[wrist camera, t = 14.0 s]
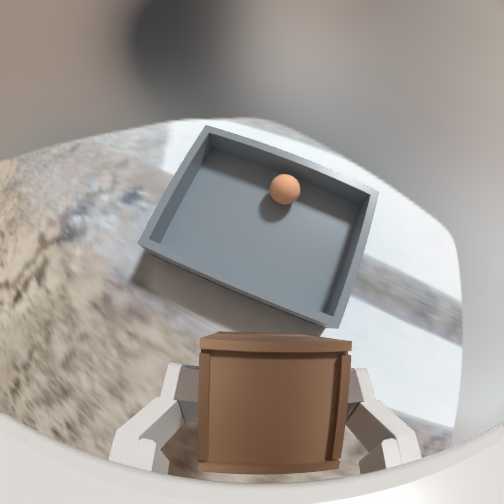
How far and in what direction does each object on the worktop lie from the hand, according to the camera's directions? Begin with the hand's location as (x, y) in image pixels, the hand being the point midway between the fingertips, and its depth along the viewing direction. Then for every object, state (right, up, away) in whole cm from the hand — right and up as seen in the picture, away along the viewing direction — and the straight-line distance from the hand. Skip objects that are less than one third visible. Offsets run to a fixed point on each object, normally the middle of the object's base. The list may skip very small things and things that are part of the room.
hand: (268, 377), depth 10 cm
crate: (0, -2, +5) cm, 5 cm away
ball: (+3, +11, +17) cm, 20 cm away
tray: (0, +7, +19) cm, 20 cm away
